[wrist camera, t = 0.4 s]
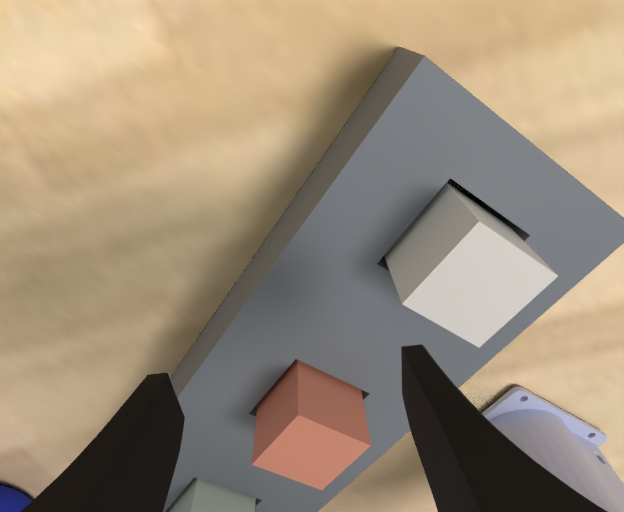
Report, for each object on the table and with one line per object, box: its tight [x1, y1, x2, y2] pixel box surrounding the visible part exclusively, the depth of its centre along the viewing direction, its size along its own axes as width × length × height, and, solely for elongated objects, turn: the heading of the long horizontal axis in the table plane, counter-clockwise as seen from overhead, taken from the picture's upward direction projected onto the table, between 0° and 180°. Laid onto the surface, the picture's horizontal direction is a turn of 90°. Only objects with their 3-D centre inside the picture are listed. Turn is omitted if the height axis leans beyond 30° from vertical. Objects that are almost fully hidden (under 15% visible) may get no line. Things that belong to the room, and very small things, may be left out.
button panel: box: [163, 47, 624, 512], centre depth 24 cm, size 12×32×4 cm, turn 146°
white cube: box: [384, 182, 558, 348], centre depth 17 cm, size 4×4×4 cm
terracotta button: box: [252, 359, 371, 490], centre depth 22 cm, size 4×4×4 cm
